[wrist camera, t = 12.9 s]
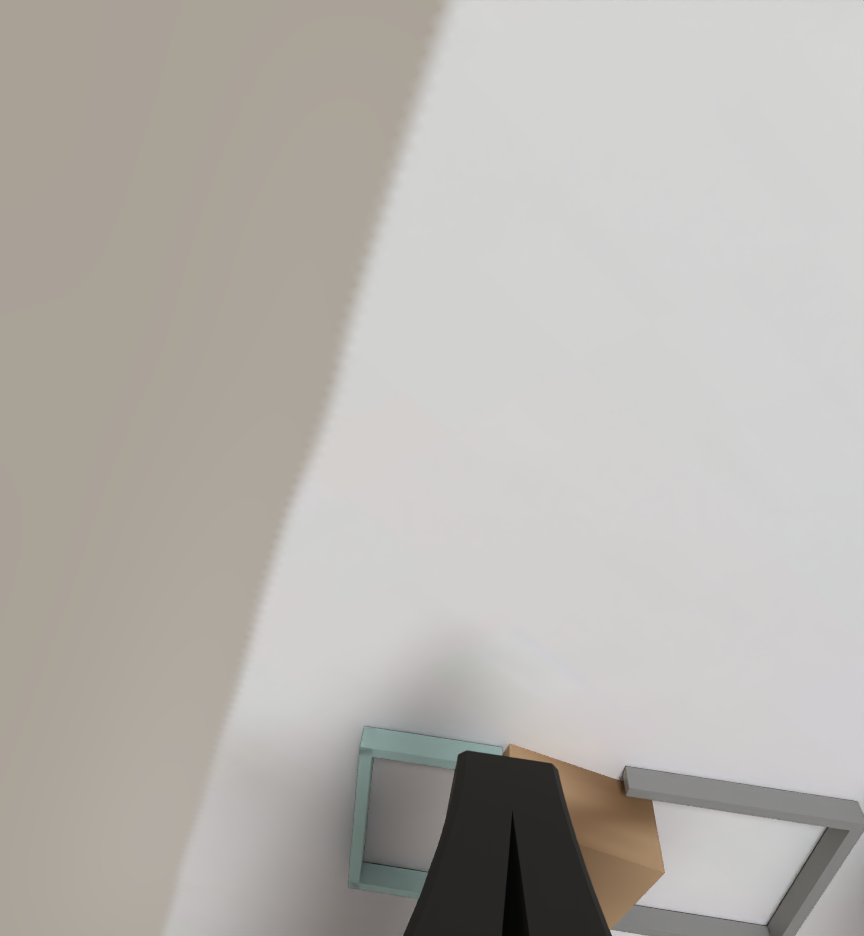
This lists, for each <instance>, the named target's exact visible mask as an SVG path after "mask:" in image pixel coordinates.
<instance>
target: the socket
mask: <svg viewBox="0 0 864 936" xmlns="http://www.w3.org/2000/svg"><path fill="white" fill-rule="evenodd" d="M623 779H624V785H625V792H626V796H629V797H635V798H642V799H648V800H655V801H661V802H668V803H674V804H681V805H687V806H694V807H700V808H707V809H713V810H720V811H726V812H733V813H739V814H746V815H752V816H759V817H765V818H772V819H778V820H785V821H791V822H798V823H804V824H811V825H817V826H824V827H828V828H827V830H826V832H825V833H824V835H823V837H822V838H821V840H820V841H819V843H818V845H817V846H816V848H815V849H814V851H813V853H812V854H811V856H810V858H809V859H808V861H807V862H806V864H805V866H804V867H803V869H802V871H801V872H800V874H799V875H798V877H797V879H796V880H795V882H794V883H793V885H792V887H791V888H790V890H789V892H788V893H787V895H786V896H785V898H784V900H783V901H782V903H781V905H780V906H779V908H778V909H777V911H776V913H775V914H774V916H773V917H772V919H771V921H770V922H769V924H768V926H762V925H756V924H750V923H743V922H737V921H731V920H724V919H718V918H712V917H705V916H699V915H693V914H686V913H680V912H674V911H668V910H661V909H655V908H649V907H642V906H636V905H634V906H633V907H632V908H631V909H630V910H629V911H628V912H627V913H626V914H625V915H624V916H623V917H622V918H621V919H620V920H619V921H618V922H617V923H616V924H615V926H614V927H613V928H612V929H611V930H616V931H622V932H629V933H635V934H641V935H647V936H795V935H796V933H797V932H798V930H799V929H800V927H801V926H802V924H803V923H804V921H805V920H806V918H807V917H808V915H809V914H810V912H811V911H812V909H813V908H814V906H815V904H816V903H817V901H818V900H819V898H820V897H821V895H822V894H823V892H824V891H825V889H826V888H827V886H828V885H829V883H830V882H831V880H832V879H833V877H834V876H835V874H836V873H837V871H838V870H839V868H840V867H841V865H842V864H843V862H844V861H845V859H846V858H847V856H848V854H849V853H850V851H851V850H852V848H853V847H854V845H855V844H856V842H857V841H858V839H859V838H860V836H861V835H862V833H863V832H864V814H863V812H862V810H861V808H860V806H859V803H858V802H856V801H850V800H843V799H836V798H830V797H823V796H817V795H810V794H804V793H797V792H791V791H784V790H778V789H771V788H765V787H758V786H752V785H745V784H738V783H732V782H725V781H719V780H712V779H706V778H699V777H693V776H686V775H680V774H673V773H667V772H660V771H654V770H647V769H640V768H634V767H627V766H626V767H625V770H624V773H623Z"/></svg>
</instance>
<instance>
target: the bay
mask: <svg viewBox="0 0 864 936" xmlns="http://www.w3.org/2000/svg"><path fill="white" fill-rule="evenodd" d="M466 750H469V751H475V752H482V753H488V754H495V755H501V756H502V747H497V746H490V745H484V744H477V743H471V742H464V741H458V740H451V739H444V738H438V737H431V736H425V735H418V734H412V733H405V732H399V731H392V730H386V729H379V728H373V727H366V726H364V731H363V735H362V740H361V744H360V752H359V764H358V775H357V787H356V798H355V810H354V821H353V833H352V844H351V855H350V867H349V878H348V888H353V889H359V890H365V891H372V892H378V893H384V894H390V895H397V896H403V897H409V898H415V899H419V897H420V894H421V891H422V888H423V886H424V883H425V880H426V877H427V874H428V872H421V871H415V870H409V869H402V868H396V867H390V866H384V865H377V864H371V863H365V862H363V856H364V847H365V837H366V827H367V817H368V807H369V798H370V788H371V778H372V768H373V759H374V757H376V758H383V759H389V760H396V761H402V762H409V763H415V764H422V765H428V766H434V767H441V768H447V769H454V770H455V767H456V762H457V757H458V754H460V753H462V752H464V751H466Z"/></svg>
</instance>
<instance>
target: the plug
mask: <svg viewBox="0 0 864 936" xmlns="http://www.w3.org/2000/svg"><path fill="white" fill-rule="evenodd" d="M502 756H508V757H515V758H521V759H528V760H534V761H541V762H547V763H552V764H553V765H554V766H555V767H556V768H557V769H558V772H559V776H560V781H561V785H562V789H563V793H564V796H565V800H566V804H567V808H568V811H569V815H570V818H571V821H572V825H573V828H574V831H575V834H576V838H577V841H578V844H579V847H580V850H581V853H582V856H583V859H584V862H585V865H586V868H587V871H588V874H589V876H590V879H591V882H592V885H593V888H594V891H595V893H596V896H597V898H598V901H599V904H600V906H601V909H602V912H603V914H604V917H605V919H606V922H607V925H608V927H609V930H611V929H612V928H613V927H614V926H615V924H616V923H617V922H618V921H619V920H620V919H621V918H622V917H623V916H624V915H625V914H626V913H627V912H628V911H629V910H630V909H631V908H632V907H633V906H634V905H635V904H636V903H637V901H638V900H639V899H640V898H641V897H642V896H643V895H644V894H645V893H646V892H647V891H648V890H649V889H650V888H651V887H652V886H653V885H654V884H655V883H656V882H657V881H658V879H659V878H660V877H661V876H662V875H663V874H664V873H665V871H664V865H663V860H662V854H661V848H660V843H659V837H658V832H657V826H656V820H655V815H654V809H653V804H652V800H648V799H642V798H635V797H629V796H626V792H625V785H624V782H622V781H619V780H616V779H613V778H610V777H607V776H604V775H601V774H598V773H595V772H592V771H589V770H586V769H583V768H580V767H578V766H575V765H572V764H569V763H566V762H563V761H560V760H557V759H554V758H551V757H548V756H545V755H542V754H539V753H536V752H533V751H530V750H527V749H524V748H521V747H518V746H515V745H512V744H509V746H508V747H507V749H506V750H505V752H504V753H503V755H502Z"/></svg>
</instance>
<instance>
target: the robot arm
mask: <svg viewBox="0 0 864 936" xmlns="http://www.w3.org/2000/svg"><path fill="white" fill-rule="evenodd" d="M403 936H612V935H611V932H610V930H609V927H608V925H607V922H606V919H605V917H604V914H603V912H602V909H601V906H600V904H599V901H598V898H597V896H596V893H595V891H594V888H593V885H592V882H591V879H590V876H589V874H588V871H587V868H586V865H585V862H584V859H583V856H582V853H581V850H580V847H579V844H578V841H577V838H576V834H575V831H574V828H573V825H572V821H571V818H570V815H569V811H568V808H567V804H566V800H565V796H564V793H563V789H562V785H561V781H560V776H559V772H558V769H557V768H556V767H555V766H554V765H553V764H552V763H547V762H541V761H534V760H528V759H521V758H515V757H508V756H501V755H495V754H488V753H482V752H475V751H469V750H466V751H464V752H462V753H460V754H458V757H457V762H456V767H455V773H454V778H453V783H452V788H451V794H450V799H449V804H448V810H447V815H446V820H445V824H444V827H443V830H442V834H441V837H440V840H439V844H438V847H437V849H436V852H435V855H434V858H433V861H432V863H431V866H430V869H429V872H428V874H427V877H426V880H425V883H424V886H423V888H422V891H421V894H420V897H419V899H418V902H417V904H416V907H415V909H414V912H413V914H412V916H411V919H410V921H409V923H408V926H407V928H406V930H405V933H404V935H403Z"/></svg>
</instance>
